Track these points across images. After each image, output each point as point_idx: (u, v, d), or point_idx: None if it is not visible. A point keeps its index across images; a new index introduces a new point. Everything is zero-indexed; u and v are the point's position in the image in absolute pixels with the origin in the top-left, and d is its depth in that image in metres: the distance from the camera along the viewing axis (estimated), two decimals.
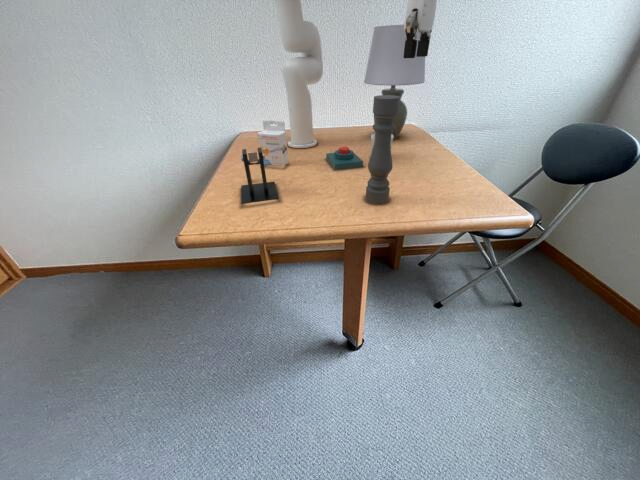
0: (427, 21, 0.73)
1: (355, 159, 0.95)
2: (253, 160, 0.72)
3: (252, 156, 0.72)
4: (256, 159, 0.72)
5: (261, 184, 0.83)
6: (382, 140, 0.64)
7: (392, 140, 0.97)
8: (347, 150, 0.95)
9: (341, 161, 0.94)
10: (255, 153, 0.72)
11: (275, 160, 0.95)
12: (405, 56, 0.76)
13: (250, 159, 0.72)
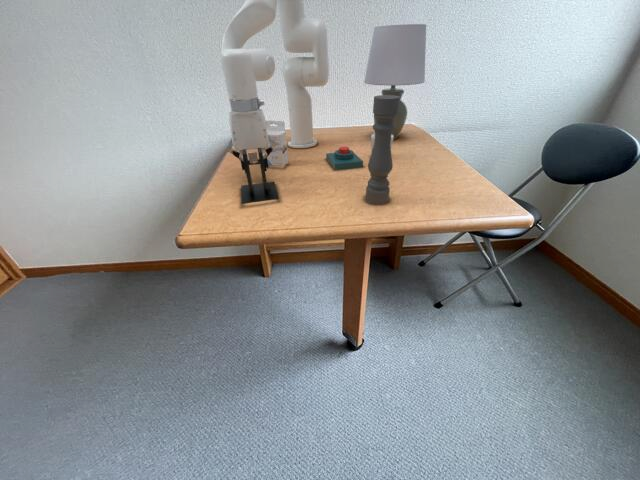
0: (247, 143, 0.77)
1: (355, 159, 0.95)
2: (253, 160, 0.72)
3: (252, 156, 0.72)
4: (256, 159, 0.72)
5: (261, 184, 0.83)
6: (382, 140, 0.64)
7: (392, 140, 0.97)
8: (347, 150, 0.95)
9: (341, 161, 0.94)
10: (255, 153, 0.72)
11: (275, 160, 0.95)
12: None
13: (250, 159, 0.72)
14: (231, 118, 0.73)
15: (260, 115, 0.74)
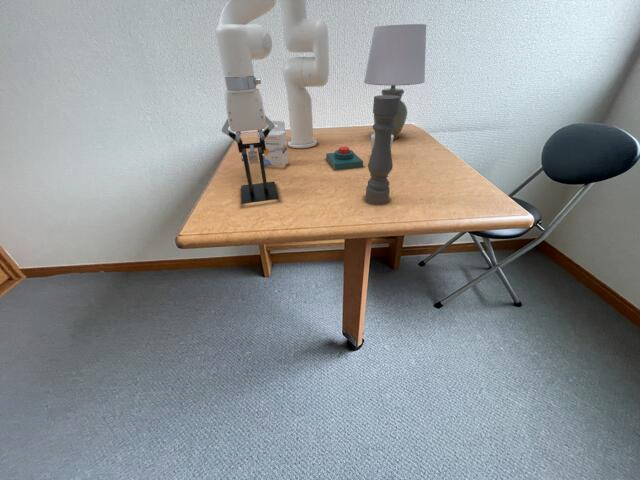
0: (243, 124, 0.75)
1: (355, 159, 0.95)
2: (253, 162, 0.72)
3: (252, 159, 0.72)
4: (256, 161, 0.72)
5: (261, 184, 0.83)
6: (382, 140, 0.64)
7: (392, 140, 0.97)
8: (347, 150, 0.95)
9: (341, 161, 0.94)
10: (255, 156, 0.72)
11: (275, 160, 0.95)
12: None
13: (250, 161, 0.72)
14: (227, 97, 0.71)
15: (256, 94, 0.72)
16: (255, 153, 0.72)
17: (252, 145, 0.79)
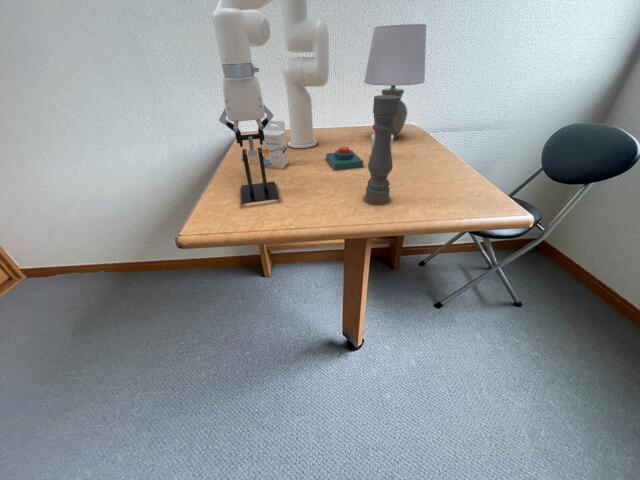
0: (241, 113, 0.73)
1: (355, 159, 0.95)
2: (254, 163, 0.73)
3: (253, 160, 0.72)
4: (257, 162, 0.73)
5: (261, 184, 0.83)
6: (382, 140, 0.64)
7: (392, 140, 0.97)
8: (347, 150, 0.95)
9: (341, 161, 0.94)
10: (256, 157, 0.72)
11: (275, 160, 0.95)
12: None
13: (251, 162, 0.72)
14: (224, 85, 0.69)
15: (255, 82, 0.70)
16: (255, 154, 0.72)
17: (251, 137, 0.78)
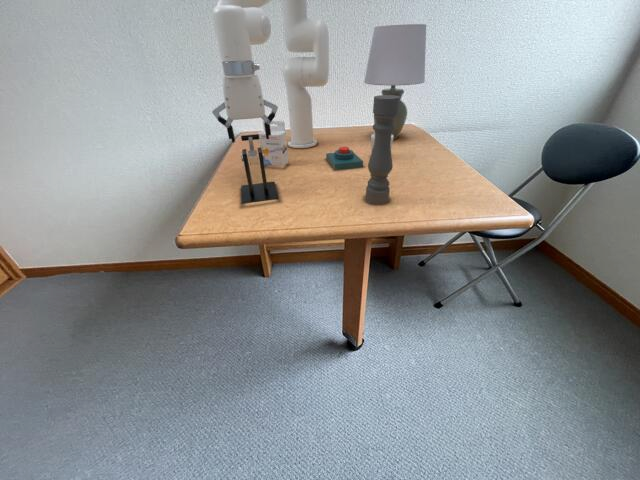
0: (241, 111, 0.72)
1: (355, 159, 0.95)
2: (254, 163, 0.73)
3: (253, 160, 0.72)
4: (257, 162, 0.73)
5: (261, 184, 0.83)
6: (382, 140, 0.64)
7: (392, 140, 0.97)
8: (347, 150, 0.95)
9: (341, 161, 0.94)
10: (256, 157, 0.72)
11: (275, 160, 0.95)
12: None
13: (251, 162, 0.72)
14: (224, 83, 0.68)
15: (255, 80, 0.69)
16: (255, 154, 0.72)
17: (251, 138, 0.78)
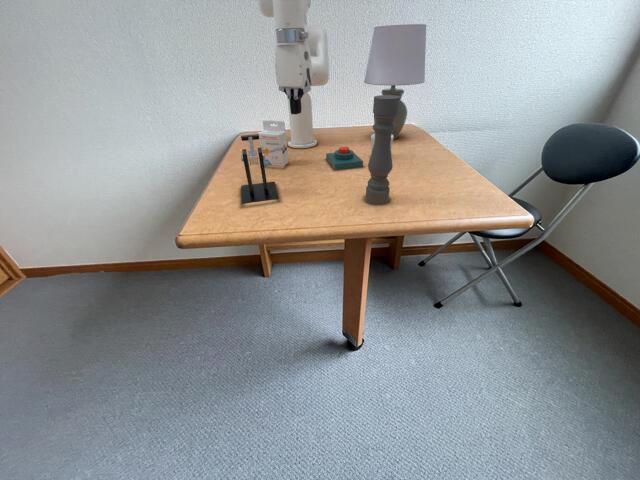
0: (285, 79, 0.77)
1: (355, 159, 0.95)
2: (254, 163, 0.73)
3: (253, 160, 0.72)
4: (257, 162, 0.73)
5: (261, 184, 0.83)
6: (382, 140, 0.64)
7: (392, 140, 0.97)
8: (347, 150, 0.95)
9: (341, 161, 0.94)
10: (256, 157, 0.72)
11: (275, 160, 0.95)
12: None
13: (251, 162, 0.72)
14: (275, 50, 0.75)
15: (298, 49, 0.71)
16: (255, 154, 0.72)
17: (251, 138, 0.78)
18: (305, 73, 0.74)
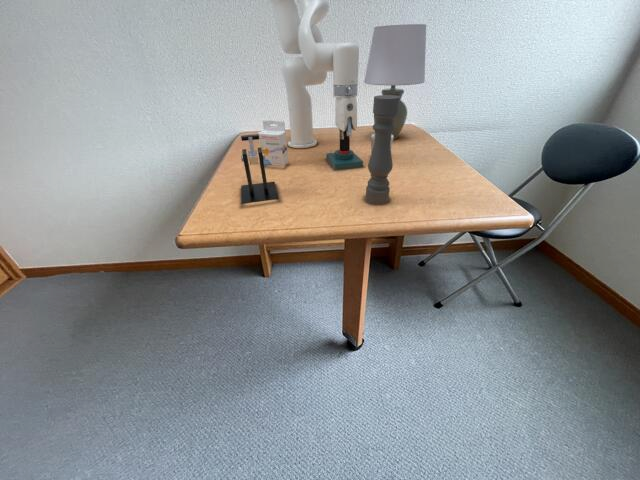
0: (337, 122, 0.91)
1: (355, 159, 0.95)
2: (254, 163, 0.73)
3: (253, 160, 0.72)
4: (257, 162, 0.73)
5: (261, 184, 0.83)
6: (382, 140, 0.64)
7: (392, 140, 0.97)
8: (347, 152, 0.95)
9: (341, 161, 0.94)
10: (256, 157, 0.72)
11: (275, 160, 0.95)
12: None
13: (251, 162, 0.72)
14: None
15: (342, 101, 0.84)
16: (255, 154, 0.72)
17: (251, 138, 0.78)
18: (346, 121, 0.86)
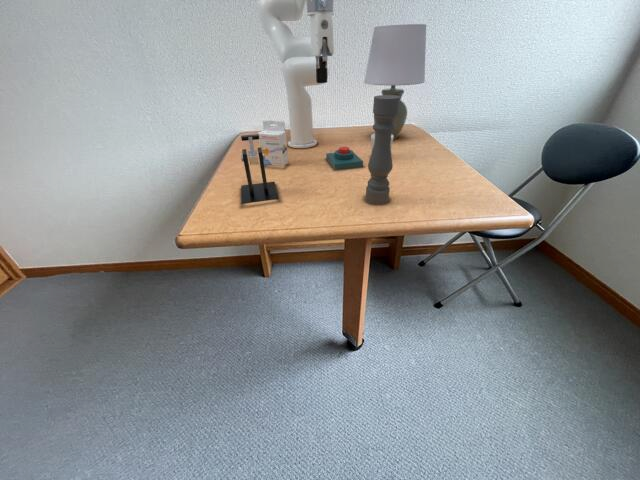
0: (313, 48, 0.84)
1: (355, 159, 0.95)
2: (254, 163, 0.73)
3: (253, 160, 0.72)
4: (257, 162, 0.73)
5: (261, 184, 0.83)
6: (382, 140, 0.64)
7: (392, 140, 0.97)
8: (347, 150, 0.95)
9: (341, 161, 0.94)
10: (256, 157, 0.72)
11: (275, 160, 0.95)
12: None
13: (251, 162, 0.72)
14: None
15: (316, 18, 0.76)
16: (255, 154, 0.72)
17: (251, 138, 0.78)
18: (320, 42, 0.78)
